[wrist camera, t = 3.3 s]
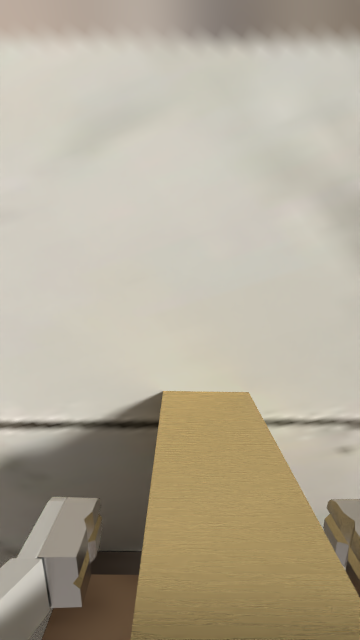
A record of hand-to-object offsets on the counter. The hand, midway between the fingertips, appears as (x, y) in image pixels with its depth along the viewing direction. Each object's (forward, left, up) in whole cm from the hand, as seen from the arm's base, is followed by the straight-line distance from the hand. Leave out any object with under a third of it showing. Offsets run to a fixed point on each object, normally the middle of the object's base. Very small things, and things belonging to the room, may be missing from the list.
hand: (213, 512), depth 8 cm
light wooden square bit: (0, 0, -4) cm, 4 cm away
